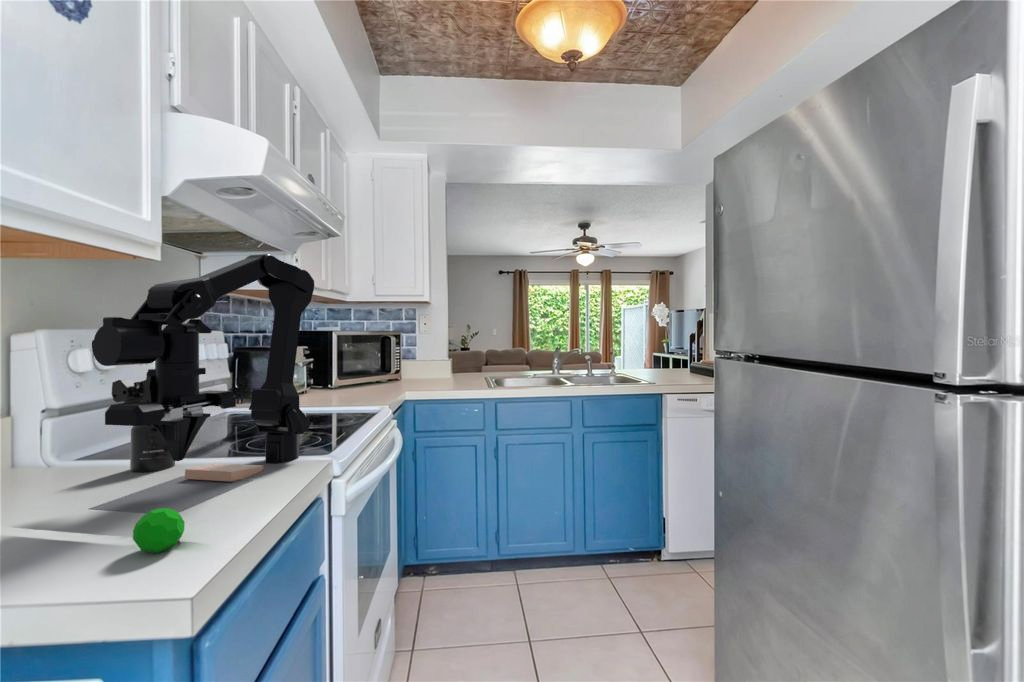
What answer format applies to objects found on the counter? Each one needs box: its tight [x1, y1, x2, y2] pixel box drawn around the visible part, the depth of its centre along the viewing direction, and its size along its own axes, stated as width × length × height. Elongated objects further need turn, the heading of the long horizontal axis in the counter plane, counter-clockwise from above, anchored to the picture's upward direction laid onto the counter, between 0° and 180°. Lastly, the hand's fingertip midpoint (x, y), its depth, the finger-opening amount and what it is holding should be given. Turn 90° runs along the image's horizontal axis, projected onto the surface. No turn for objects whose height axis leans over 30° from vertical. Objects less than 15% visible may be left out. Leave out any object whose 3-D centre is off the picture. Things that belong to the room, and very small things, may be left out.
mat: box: [88, 475, 254, 514], centre depth 75 cm, size 16×14×1 cm
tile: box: [184, 462, 264, 482], centre depth 85 cm, size 2×9×8 cm
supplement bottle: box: [129, 424, 176, 474], centre depth 90 cm, size 7×7×12 cm
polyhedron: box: [132, 508, 185, 553], centre depth 57 cm, size 5×5×5 cm
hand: (178, 460), depth 75 cm, fingers closed
